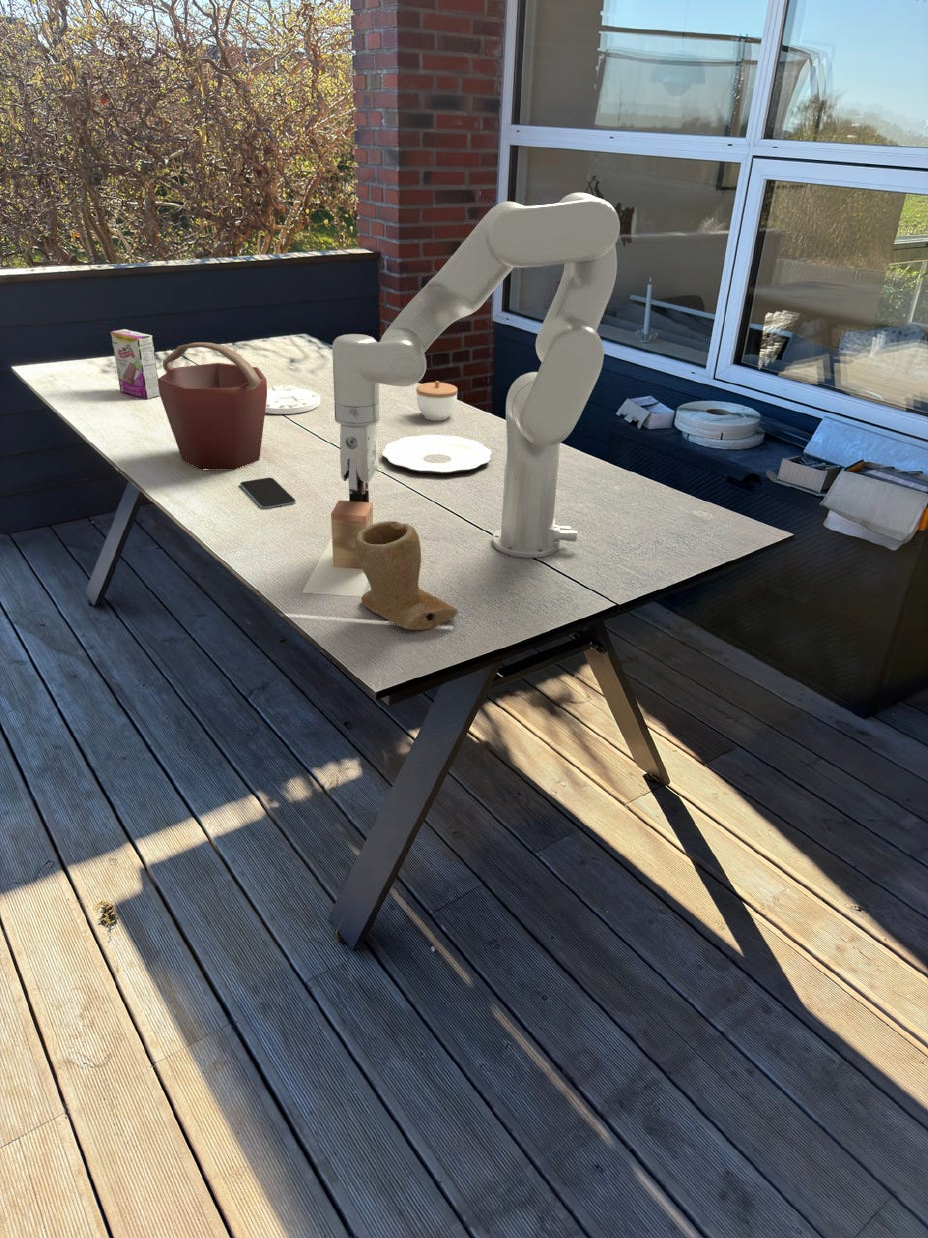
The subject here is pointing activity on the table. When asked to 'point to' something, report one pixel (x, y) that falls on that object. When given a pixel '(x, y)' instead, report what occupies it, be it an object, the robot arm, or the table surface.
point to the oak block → (348, 530)
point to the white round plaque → (290, 400)
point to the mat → (335, 578)
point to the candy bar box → (135, 363)
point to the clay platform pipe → (397, 577)
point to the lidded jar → (436, 400)
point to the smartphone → (267, 493)
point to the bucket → (215, 409)
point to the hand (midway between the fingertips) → (359, 511)
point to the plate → (457, 448)
